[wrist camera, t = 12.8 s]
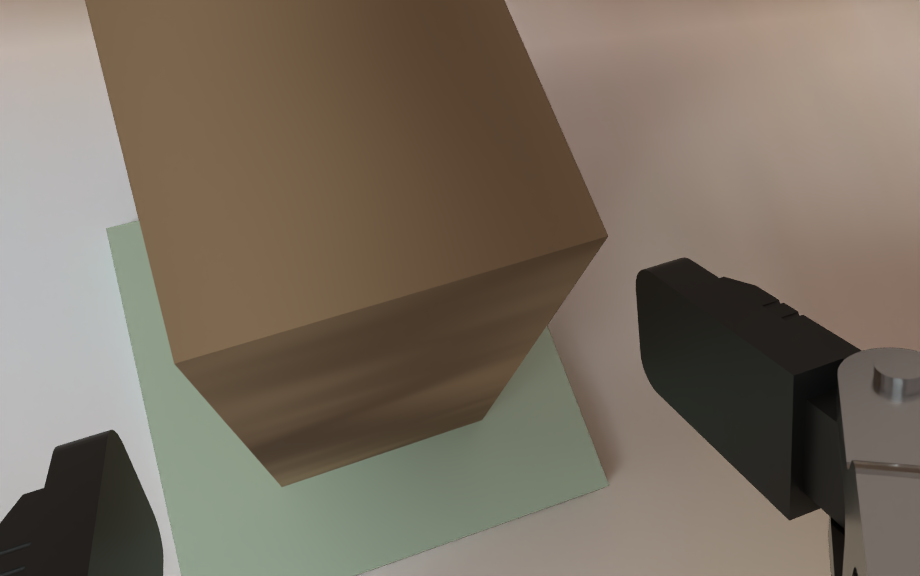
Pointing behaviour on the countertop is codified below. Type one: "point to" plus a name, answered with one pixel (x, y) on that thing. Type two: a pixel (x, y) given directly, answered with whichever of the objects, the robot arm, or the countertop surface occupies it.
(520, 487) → the coaster
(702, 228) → the countertop surface
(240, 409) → the walnut block
